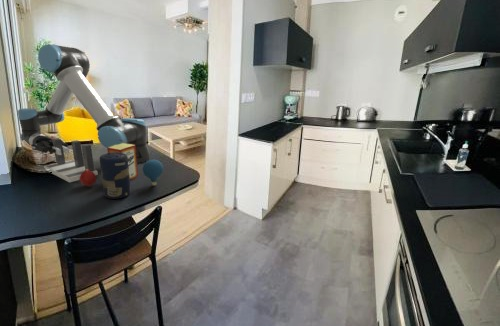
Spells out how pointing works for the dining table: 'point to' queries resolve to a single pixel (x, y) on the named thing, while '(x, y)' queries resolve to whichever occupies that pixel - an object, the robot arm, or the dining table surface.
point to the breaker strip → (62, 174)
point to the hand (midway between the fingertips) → (64, 151)
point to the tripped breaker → (60, 158)
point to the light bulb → (153, 170)
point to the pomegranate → (88, 178)
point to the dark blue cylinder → (115, 175)
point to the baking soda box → (131, 154)
